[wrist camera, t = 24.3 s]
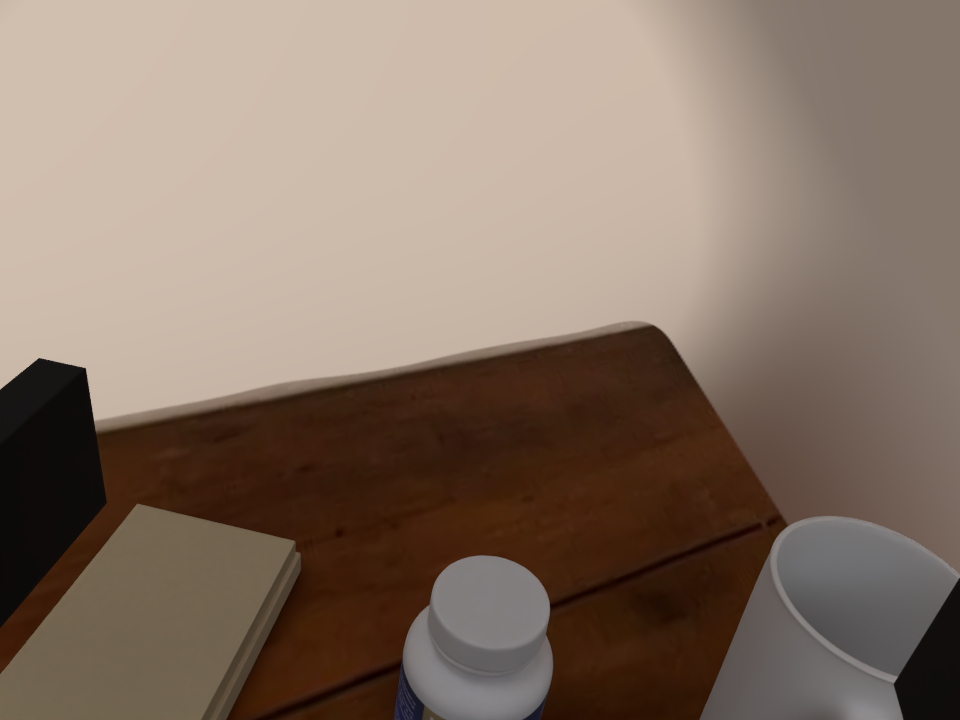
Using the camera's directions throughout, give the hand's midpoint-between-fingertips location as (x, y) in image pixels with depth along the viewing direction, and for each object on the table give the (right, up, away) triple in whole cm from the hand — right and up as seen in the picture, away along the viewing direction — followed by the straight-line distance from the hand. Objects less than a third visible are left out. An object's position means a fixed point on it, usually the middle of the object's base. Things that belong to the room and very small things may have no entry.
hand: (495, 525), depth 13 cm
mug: (+10, -16, +18) cm, 26 cm away
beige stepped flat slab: (-14, -10, +21) cm, 27 cm away
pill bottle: (-1, -13, +20) cm, 23 cm away
